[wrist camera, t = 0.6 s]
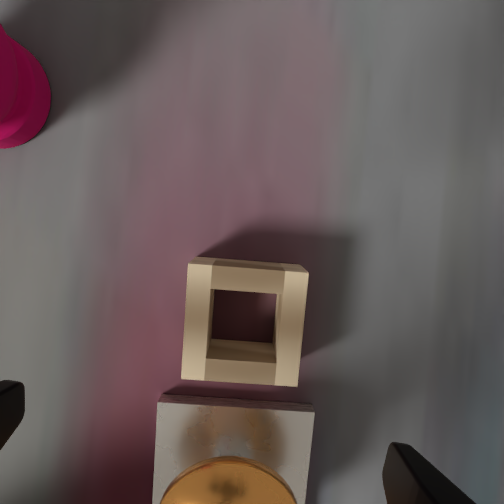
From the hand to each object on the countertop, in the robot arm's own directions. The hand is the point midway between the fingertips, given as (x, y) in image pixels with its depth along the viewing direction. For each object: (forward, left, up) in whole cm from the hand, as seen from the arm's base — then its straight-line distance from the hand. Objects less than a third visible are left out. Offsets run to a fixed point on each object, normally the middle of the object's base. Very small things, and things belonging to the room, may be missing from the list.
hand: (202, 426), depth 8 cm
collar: (-1, -1, -14) cm, 14 cm away
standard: (-12, -1, -14) cm, 18 cm away
